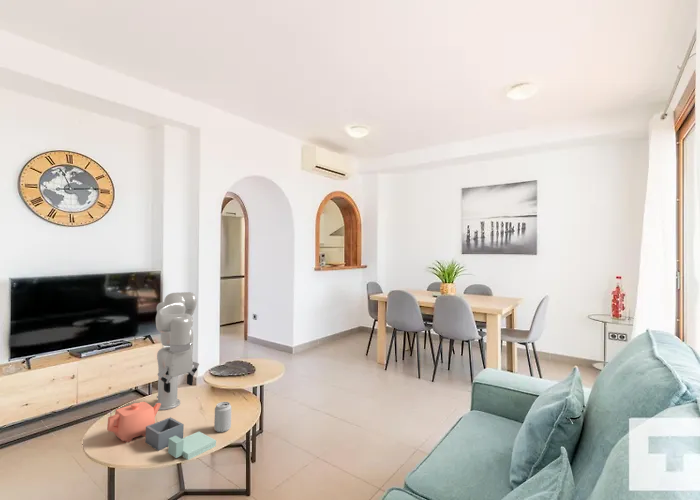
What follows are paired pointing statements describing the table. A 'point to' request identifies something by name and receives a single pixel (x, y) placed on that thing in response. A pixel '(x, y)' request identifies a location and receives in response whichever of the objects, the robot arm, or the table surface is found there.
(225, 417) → the can
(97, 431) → the table surface
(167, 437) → the tub
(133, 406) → the teapot
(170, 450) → the mint green stepped block
